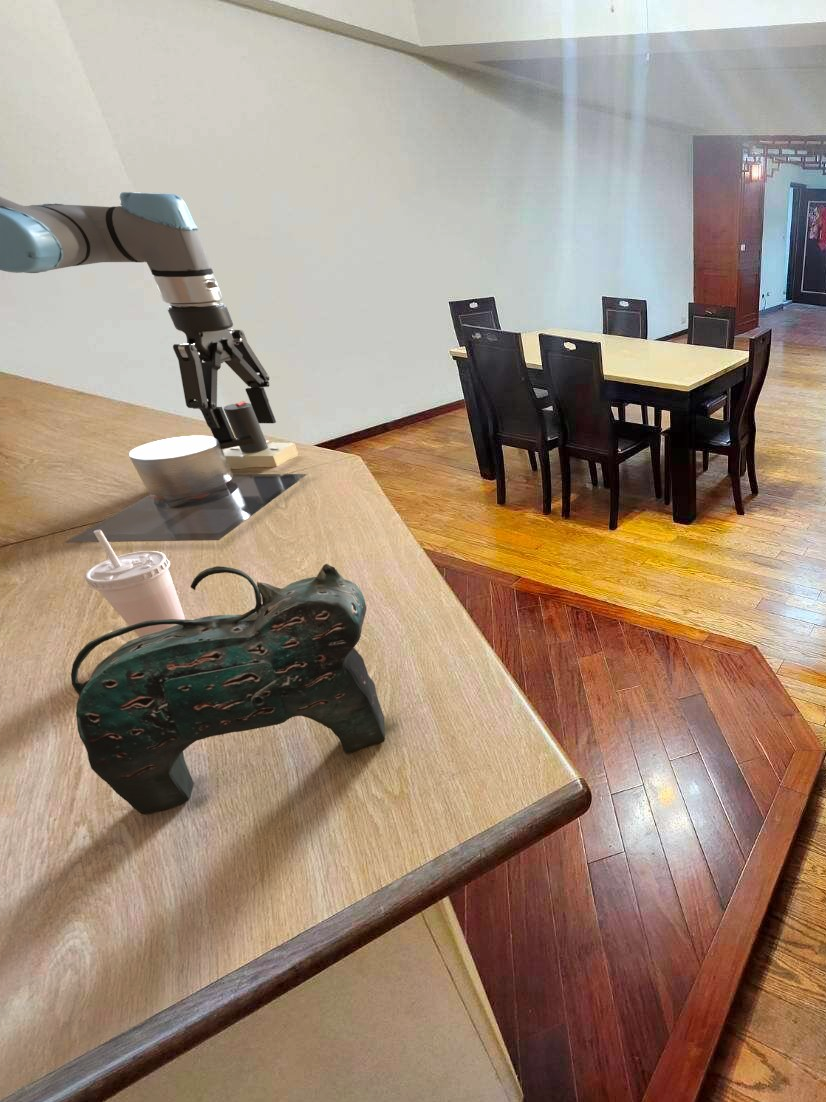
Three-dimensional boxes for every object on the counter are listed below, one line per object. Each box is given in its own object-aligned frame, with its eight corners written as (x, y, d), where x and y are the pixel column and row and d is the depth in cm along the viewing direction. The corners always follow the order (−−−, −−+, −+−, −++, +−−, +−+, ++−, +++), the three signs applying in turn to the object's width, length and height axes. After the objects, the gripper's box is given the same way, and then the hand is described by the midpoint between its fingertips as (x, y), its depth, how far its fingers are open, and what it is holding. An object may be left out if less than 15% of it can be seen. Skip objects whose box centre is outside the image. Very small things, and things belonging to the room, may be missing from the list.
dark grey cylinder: (260, 452, 107) (242, 407, 103) (236, 452, 106) (217, 407, 102) (272, 444, 110) (255, 401, 106) (249, 445, 110) (231, 401, 106)
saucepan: (154, 508, 91) (132, 465, 88) (146, 486, 98) (125, 445, 94) (273, 482, 101) (257, 442, 97) (259, 463, 108) (243, 425, 104)
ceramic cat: (404, 705, 59) (342, 530, 49) (407, 751, 54) (339, 568, 44) (146, 779, 51) (6, 587, 40) (122, 841, 46) (-44, 642, 36)
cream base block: (216, 470, 106) (210, 456, 104) (244, 453, 113) (239, 440, 111) (276, 470, 107) (270, 456, 105) (300, 453, 114) (295, 440, 112)
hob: (66, 545, 82) (64, 542, 82) (187, 476, 103) (185, 474, 103) (220, 542, 84) (218, 539, 84) (308, 476, 105) (307, 473, 105)
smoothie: (128, 636, 66) (59, 527, 59) (200, 614, 70) (144, 509, 63) (132, 664, 62) (59, 551, 55) (208, 639, 66) (150, 530, 59)
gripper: (167, 315, 86) (228, 456, 97) (263, 294, 106) (305, 413, 117) (111, 314, 85) (179, 456, 96) (218, 293, 105) (264, 413, 116)
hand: (248, 433), depth 107 cm, fingers open, 11 cm apart
